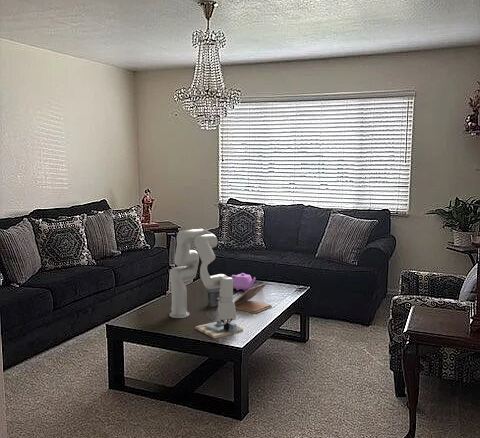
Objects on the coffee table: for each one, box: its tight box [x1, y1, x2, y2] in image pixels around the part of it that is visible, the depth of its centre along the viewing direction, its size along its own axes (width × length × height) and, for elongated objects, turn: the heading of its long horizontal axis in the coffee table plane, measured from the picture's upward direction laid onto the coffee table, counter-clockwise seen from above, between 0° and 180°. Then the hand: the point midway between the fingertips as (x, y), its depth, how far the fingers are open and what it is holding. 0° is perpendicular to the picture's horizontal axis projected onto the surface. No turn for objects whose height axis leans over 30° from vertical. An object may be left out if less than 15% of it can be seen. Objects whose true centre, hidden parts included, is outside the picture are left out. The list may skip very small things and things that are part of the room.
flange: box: [205, 320, 238, 334], centre depth 298 cm, size 19×12×4 cm, turn 46°
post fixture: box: [195, 320, 244, 339], centre depth 300 cm, size 20×20×7 cm
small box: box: [207, 289, 220, 308], centre depth 349 cm, size 11×6×10 cm, turn 109°
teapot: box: [230, 272, 257, 292], centre depth 390 cm, size 20×12×13 cm, turn 69°
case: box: [234, 283, 273, 314], centre depth 344 cm, size 20×21×16 cm
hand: (226, 330), depth 291 cm, fingers closed
